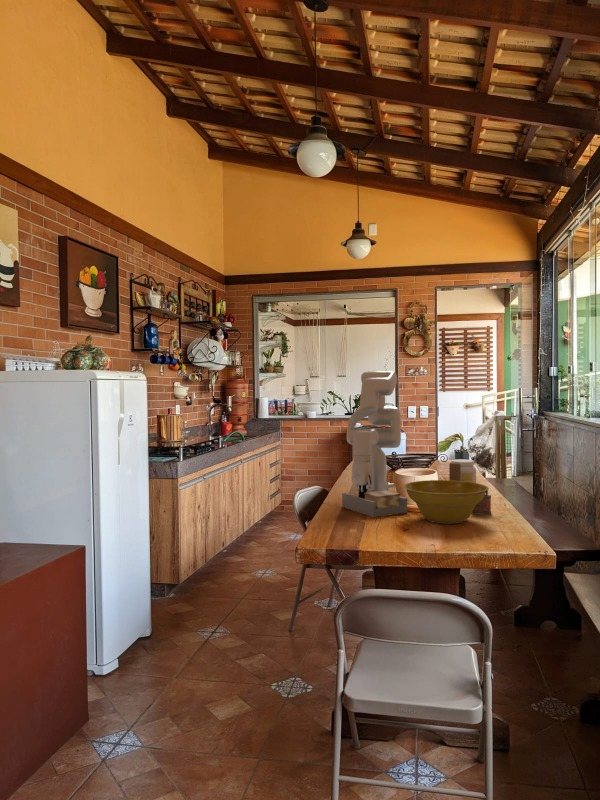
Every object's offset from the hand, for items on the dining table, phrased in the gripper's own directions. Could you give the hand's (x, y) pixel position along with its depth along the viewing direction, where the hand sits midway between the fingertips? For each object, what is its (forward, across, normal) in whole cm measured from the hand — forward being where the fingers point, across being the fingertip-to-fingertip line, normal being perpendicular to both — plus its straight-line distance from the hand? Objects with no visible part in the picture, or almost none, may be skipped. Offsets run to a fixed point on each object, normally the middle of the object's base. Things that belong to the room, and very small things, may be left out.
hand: (362, 500), depth 249 cm
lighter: (+3, +36, +34) cm, 49 cm away
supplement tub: (+3, +5, +54) cm, 54 cm away
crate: (+1, +14, 0) cm, 15 cm away
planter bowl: (+3, +38, +13) cm, 40 cm away
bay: (+3, +8, 0) cm, 8 cm away
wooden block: (+3, +18, +40) cm, 44 cm away
